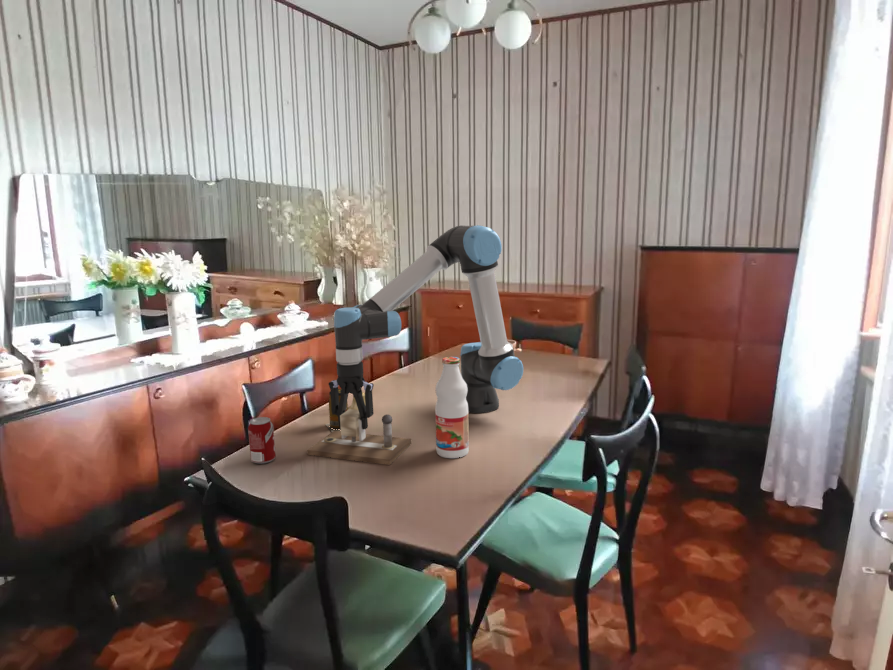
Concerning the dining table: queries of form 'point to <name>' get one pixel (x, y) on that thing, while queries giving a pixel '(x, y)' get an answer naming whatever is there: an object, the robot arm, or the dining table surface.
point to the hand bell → (354, 405)
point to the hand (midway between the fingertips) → (353, 437)
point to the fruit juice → (451, 411)
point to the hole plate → (362, 446)
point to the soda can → (261, 440)
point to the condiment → (334, 418)
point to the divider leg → (350, 423)
